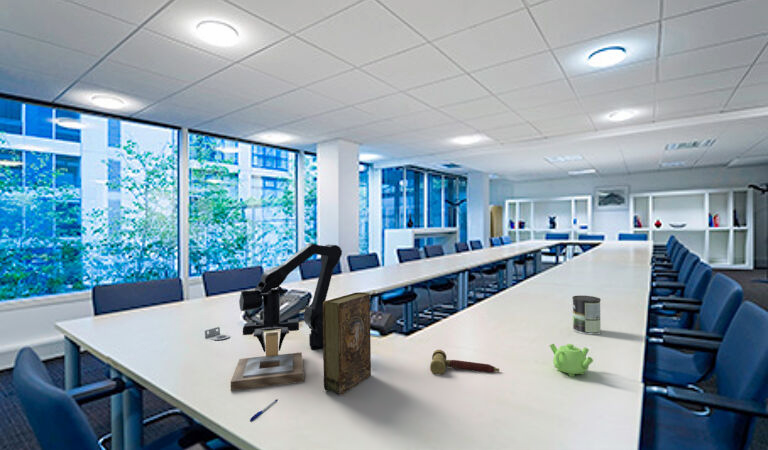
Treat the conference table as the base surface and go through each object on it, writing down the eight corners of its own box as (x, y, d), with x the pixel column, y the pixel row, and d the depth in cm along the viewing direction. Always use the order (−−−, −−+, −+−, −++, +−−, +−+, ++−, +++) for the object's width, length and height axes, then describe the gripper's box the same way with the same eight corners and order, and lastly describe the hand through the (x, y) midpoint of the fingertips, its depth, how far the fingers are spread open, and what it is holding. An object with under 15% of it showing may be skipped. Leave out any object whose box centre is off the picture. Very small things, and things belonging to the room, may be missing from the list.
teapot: (550, 376, 106) (550, 348, 106) (549, 362, 116) (549, 336, 116) (594, 382, 101) (593, 352, 101) (588, 367, 112) (588, 340, 112)
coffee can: (571, 332, 148) (570, 298, 148) (574, 326, 156) (574, 294, 156) (600, 336, 142) (599, 301, 142) (602, 330, 150) (601, 296, 150)
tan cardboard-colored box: (278, 354, 128) (277, 332, 128) (277, 358, 124) (277, 335, 124) (266, 355, 127) (266, 333, 127) (265, 359, 123) (265, 336, 123)
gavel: (498, 356, 114) (501, 369, 104) (497, 370, 114) (501, 384, 104) (432, 348, 118) (430, 359, 109) (432, 362, 118) (429, 374, 109)
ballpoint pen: (252, 422, 83) (252, 418, 83) (249, 422, 84) (249, 418, 84) (277, 401, 93) (277, 397, 93) (275, 401, 94) (274, 397, 94)
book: (358, 371, 112) (357, 291, 112) (373, 374, 109) (372, 293, 109) (323, 392, 98) (322, 301, 98) (339, 397, 95) (337, 303, 95)
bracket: (218, 342, 143) (218, 333, 143) (204, 338, 149) (204, 330, 149) (233, 338, 149) (233, 329, 149) (219, 334, 154) (219, 326, 154)
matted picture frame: (301, 359, 122) (301, 351, 122) (303, 381, 105) (303, 371, 105) (239, 366, 117) (239, 357, 117) (230, 390, 100) (230, 379, 100)
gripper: (298, 300, 136) (298, 341, 135) (246, 304, 131) (246, 346, 131) (298, 306, 125) (299, 351, 125) (242, 310, 120) (242, 357, 120)
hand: (272, 351), depth 125 cm, fingers open, 5 cm apart
